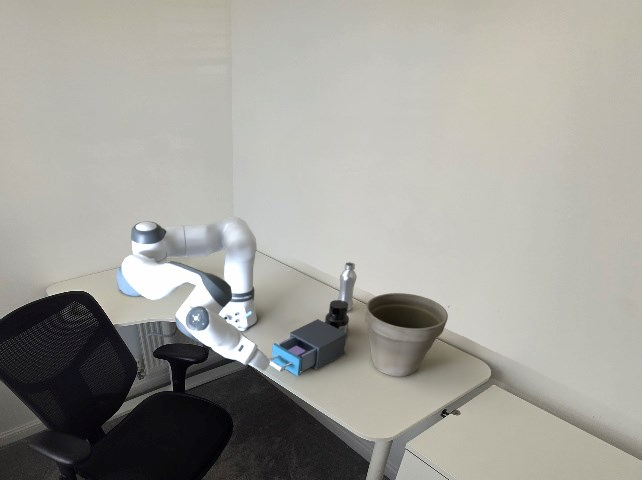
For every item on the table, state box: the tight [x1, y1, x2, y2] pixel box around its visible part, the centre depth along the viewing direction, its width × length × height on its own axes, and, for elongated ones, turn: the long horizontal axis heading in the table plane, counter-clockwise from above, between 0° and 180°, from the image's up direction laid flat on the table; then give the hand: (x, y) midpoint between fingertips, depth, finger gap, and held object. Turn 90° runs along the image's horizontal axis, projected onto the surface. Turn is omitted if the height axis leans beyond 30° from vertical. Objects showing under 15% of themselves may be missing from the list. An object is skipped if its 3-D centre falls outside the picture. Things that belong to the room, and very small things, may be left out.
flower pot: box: [364, 292, 449, 378], centre depth 145 cm, size 25×25×22 cm
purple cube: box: [288, 346, 306, 358], centre depth 150 cm, size 4×4×4 cm
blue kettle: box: [115, 265, 142, 297], centre depth 200 cm, size 19×20×12 cm
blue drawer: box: [269, 336, 317, 377], centre depth 149 cm, size 19×12×7 cm, turn 130°
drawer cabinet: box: [289, 318, 348, 370], centre depth 155 cm, size 15×14×9 cm
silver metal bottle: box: [337, 261, 357, 312], centre depth 179 cm, size 6×7×20 cm
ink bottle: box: [324, 299, 350, 334], centre depth 166 cm, size 10×9×12 cm
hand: (253, 359), depth 135 cm, fingers open, 8 cm apart
